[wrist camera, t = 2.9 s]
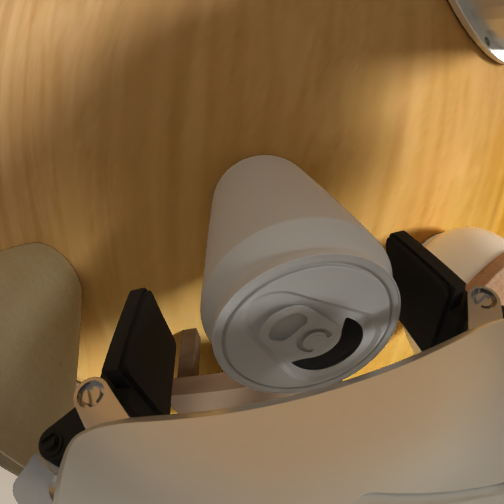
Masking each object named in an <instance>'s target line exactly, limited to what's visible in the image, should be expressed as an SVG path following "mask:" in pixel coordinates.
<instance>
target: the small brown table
mask: <svg viewBox="0 0 504 504" xmlns="http://www.w3.org/2000/svg"><path fill="white" fill-rule="evenodd" d="M199 355H200V336H199V333H198V331H197V329H196V328H195V329H189V330H183V334H182V341H181V350H180V358H179V367H178V376H177V378H173V384H172V396H171V406H172V407H173V408H174V409H175V410H176V412H177V413H178V414H180V413H190V412H198V411H207V410H215V409H222V408H229V407H236V406H242V405H247V404H253V403H258V402H263V401H268V400H273V399H278V398H282V397H287V396H291V395H295V394H299V393H291V394H277V393H268V392H262V391H258V390H254V389H251V388H249V387H246V386H244V385H242V384H240V383H238V382H237V381H235V380H233V379H232V378H231V377H229V376H228V375H227V374H226V373H225V372H222V373H215V374H208V375H199ZM198 375H199V376H198ZM339 382H342V380H341V381H339ZM339 382H337V383H339ZM334 384H336V383H334ZM302 393H303V392H302Z"/></svg>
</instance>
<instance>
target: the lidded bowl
mask: <svg viewBox="0 0 504 504" xmlns="http://www.w3.org/2000/svg"><path fill="white" fill-rule="evenodd" d="M421 245H423V246H424V247H425V248H426V249H428V250H429V251H430V252H431V253H432V254H434V255H435V256H436V257H437V258H438V259H439V260H441V261H442V262H443V263H444V264H445V265H446V266H448V267H449V268H450V269H451V270H452V271H453V272H454V273H455V274H456V275H458V276H459V277H460V278H461V279H462V280H463V281H464V282H465V283H466V287H465V290H466V291H467V292H468V291H469V289H470V288H472V287H474V286H485V287H488V288H490V289H492V290H493V291H495V292H496V293H497V295H498V296H499V298H500V302H501V305H503V306H504V238H503V237H501V236H499V235H497V234H495V233H493V232H491V231H488V230H485V229H482V228H477V227H468V226H466V227H458V228H453V229H450V230H448V231H445V232H443V233H438V234H435V235H433V236H431V237H430V238H428V239H427V240H426V241H424V242H423V243H422V244H421ZM403 327H404V326H403ZM404 330H405V333H406V337H407V339H408V341H409V344H410V346H411V348H412V350H413V352H414V354H415V355H416V354H418V353H420V352H422V351H421V350H420V348H419V347H418V346H417V344H416V343H415V341H414V340H413V338H412V337H411V335H410V334H409V333H408V331H407V330H406V328H405V327H404Z"/></svg>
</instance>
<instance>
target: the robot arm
mask: <svg viewBox="0 0 504 504" xmlns="http://www.w3.org/2000/svg"><path fill="white" fill-rule="evenodd" d="M448 1H449V3H450V5H451V7H452V9H453V10H454V12H455V14H456V16H457V17H458V19H459V21H460V22H461V24H462V25H463V27H464V28H465V30H466V31H467V32H468V34H469V35H470V37H471V38H472V39H473V40H474V42H475V43H476V44H477V45H478V46H479V47H480V48H481V50H482V51H483V52H484V53H485V54H486V55H488V56H489V57H490V58H491V59H492V60H494V61H496V62H498V63H500V64H504V0H448ZM386 253H387V255H388V258H389V260H390V263H391V267H392V273H393V279H394V280H395V282H396V284H397V287H398V289H399V292H400V299H401V309H400V316H399V320H400V322H401V323H402V324H403V326H404V327H405V328H406V330H407V331H408V333H409V334H410V335H411V337H412V338H413V340H414V341H415V343H416V344H417V346H418V347H419V348H420V350H421V351H422V352H420V353H418V354H416V355H413V356H411V357H409V358H406V359H404V360H401V361H399V362H396V363H394V364H391V365H389V366H386V367H383V368H381V369H378V370H375V371H372V372H369V373H367V374H364V375H361V376H358V377H355V378H352V379H349V380H345V381H342V382H339V383H336V384H332V385H329V386H325V387H322V388H318V389H315V390H311V391H307V392H303V393H299V394H295V395H291V396H287V397H282V398H278V399H273V400H268V401H263V402H258V403H253V404H247V405H242V406H236V407H229V408H222V409H215V410H207V411H198V412H190V413H180V414H170V408H171V396H172V384H173V374H174V364H175V355H176V342H175V339H174V337H173V335H172V333H171V331H170V329H169V327H168V325H167V323H166V321H165V319H164V317H163V315H162V313H161V311H160V309H159V307H158V305H157V302H156V300H155V298H154V296H153V294H152V292H151V291H147V290H146V289H145V288H141V289H136V290H132V291H130V293H129V295H128V298H127V301H126V303H125V306H124V308H123V311H122V313H121V316H120V319H119V321H118V324H117V327H116V330H115V333H114V335H113V338H112V341H111V344H110V347H109V350H108V353H107V356H106V359H105V362H104V365H103V368H102V374H101V377H92V378H88V379H86V380H84V381H83V382H82V383H81V384H80V385H79V386H78V387H77V389H76V390H75V393H74V397H73V401H74V405H75V407H74V408H73V409H72V410H71V411H69V412H68V413H67V414H66V415H64V416H63V417H62V418H60V419H59V420H58V421H57V422H55V423H54V424H53V425H52V426H50V427H49V428H48V429H46V430H45V431H44V432H43V433H42V435H41V437H40V440H39V447H38V448H39V452H40V453H39V455H38V454H37V453H36V452H35V454H34V455H33V456H32V458H31V459H30V461H29V462H28V463H27V465H26V466H25V468H24V469H23V470H22V472H21V473H20V475H19V476H18V478H17V479H16V480H15V482H14V485H13V494H14V497H15V499H16V501H17V502H18V504H504V306H503V305H501V302H500V298H499V296H498V295H497V293H496V292H495V291H493V290H492V289H490V288H488V287H485V286H474V287H472V288H470V289H469V291H468V292H467V291H466V290H465V287H466V283H465V282H464V281H463V280H462V279H461V278H460V277H459V276H458V275H456V274H455V273H454V272H453V271H452V270H451V269H450V268H449V267H448V266H446V265H445V264H444V263H443V262H442V261H441V260H439V259H438V258H437V257H436V256H435V255H434V254H432V253H431V252H430V251H429V250H428V249H426V248H425V247H424V246H423V245H421V244H420V243H419V242H418V241H417V240H415V239H414V238H413V237H412V236H410V235H409V234H408V233H406V232H405V231H399V232H395V233H391V234H390V236H389V238H387V241H386Z"/></svg>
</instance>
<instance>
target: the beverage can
mask: <svg viewBox="0 0 504 504" xmlns="http://www.w3.org/2000/svg"><path fill="white" fill-rule="evenodd" d="M400 309H401V299H400V292H399V289H398V287H397V284H396V282H395V280H394V279H393V273H392V267H391V263H390V260H389V258H388V255H387V253H386V251H385V250H384V248H383V247H382V245H381V244H380V243H379V241H378V240H377V239H376V238H375V237H374V236H373V235H372V234H371V233H370V232H369V231H368V230H367V229H366V228H365V227H364V226H363V225H362V224H361V223H360V222H359V221H358V220H357V219H356V218H355V217H354V216H353V215H352V214H350V213H349V212H348V211H347V210H346V209H345V208H344V207H343V206H342V205H341V204H340V203H339V202H338V201H337V200H336V199H334V198H333V197H332V196H331V195H330V194H329V193H328V192H327V191H326V190H325V189H323V188H322V187H321V186H320V185H319V184H318V183H317V182H316V181H314V180H313V179H312V178H311V177H310V176H309V175H307V174H306V173H305V172H304V171H303V170H302V169H300V168H299V167H298V166H297V165H295V164H294V163H292V162H291V161H289V160H287V159H284V158H281V157H278V156H273V155H257V156H252V157H249V158H246V159H243V160H241V161H239V162H237V163H236V164H234V165H233V166H232V167H230V168H229V169H228V170H227V171H226V172H225V173H224V174H223V176H222V177H221V179H220V180H219V182H218V184H217V186H216V188H215V191H214V194H213V200H212V207H211V215H210V223H209V231H208V239H207V247H206V256H205V265H204V275H203V285H202V295H201V310H200V311H201V320H202V324H203V327H204V330H205V333H206V335H207V337H208V338H209V340H210V342H211V343H212V347H213V352H214V355H215V358H216V360H217V362H218V364H219V366H220V367H221V368H222V370H223V371H224V372H225V373H226V374H227V375H228V376H229V377H231V378H232V379H233V380H235V381H237V382H238V383H240V384H242V385H244V386H246V387H249V388H251V389H254V390H258V391H262V392H268V393H277V394H291V393H302V392H307V391H311V390H315V389H318V388H322V387H325V386H329V385H332V384H334V383H337V382H339V381H341V380H343V379H345V378H347V377H349V376H351V375H352V374H354V373H356V372H357V371H359V370H360V369H362V368H363V367H364V366H366V365H367V364H368V363H369V362H370V361H371V360H373V359H374V358H375V357H376V356H377V355H378V354H379V353H380V351H381V350H382V349H383V348H384V347H385V345H386V344H387V342H388V341H389V340H390V338H391V336H392V334H393V332H394V330H395V328H396V326H397V323H398V320H399V316H400Z"/></svg>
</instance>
